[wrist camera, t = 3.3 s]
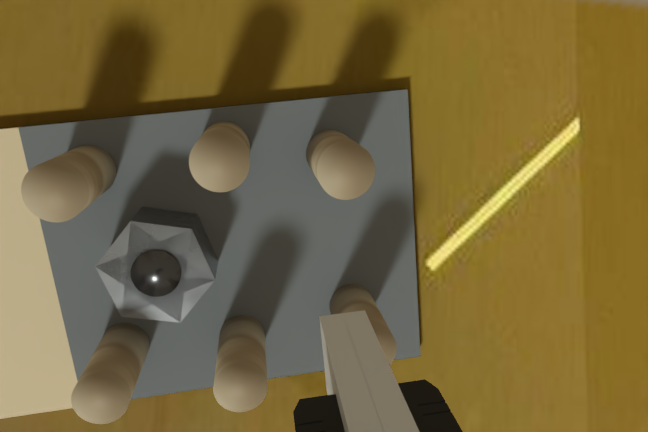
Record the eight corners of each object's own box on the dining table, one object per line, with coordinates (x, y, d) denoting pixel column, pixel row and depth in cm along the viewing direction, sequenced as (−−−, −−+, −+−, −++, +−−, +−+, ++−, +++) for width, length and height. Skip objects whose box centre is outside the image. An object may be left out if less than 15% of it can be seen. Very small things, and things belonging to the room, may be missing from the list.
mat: (-96, 427, 31) (-102, 433, 31) (-190, 147, 27) (-199, 149, 27) (417, 351, 34) (420, 356, 34) (404, 88, 30) (407, 89, 30)
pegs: (107, 375, 32) (79, 437, 26) (56, 138, 28) (11, 153, 23) (375, 337, 33) (399, 387, 28) (359, 107, 30) (382, 115, 24)
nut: (144, 315, 31) (133, 341, 28) (97, 223, 29) (80, 240, 26) (228, 282, 31) (226, 305, 28) (186, 189, 29) (179, 202, 27)
